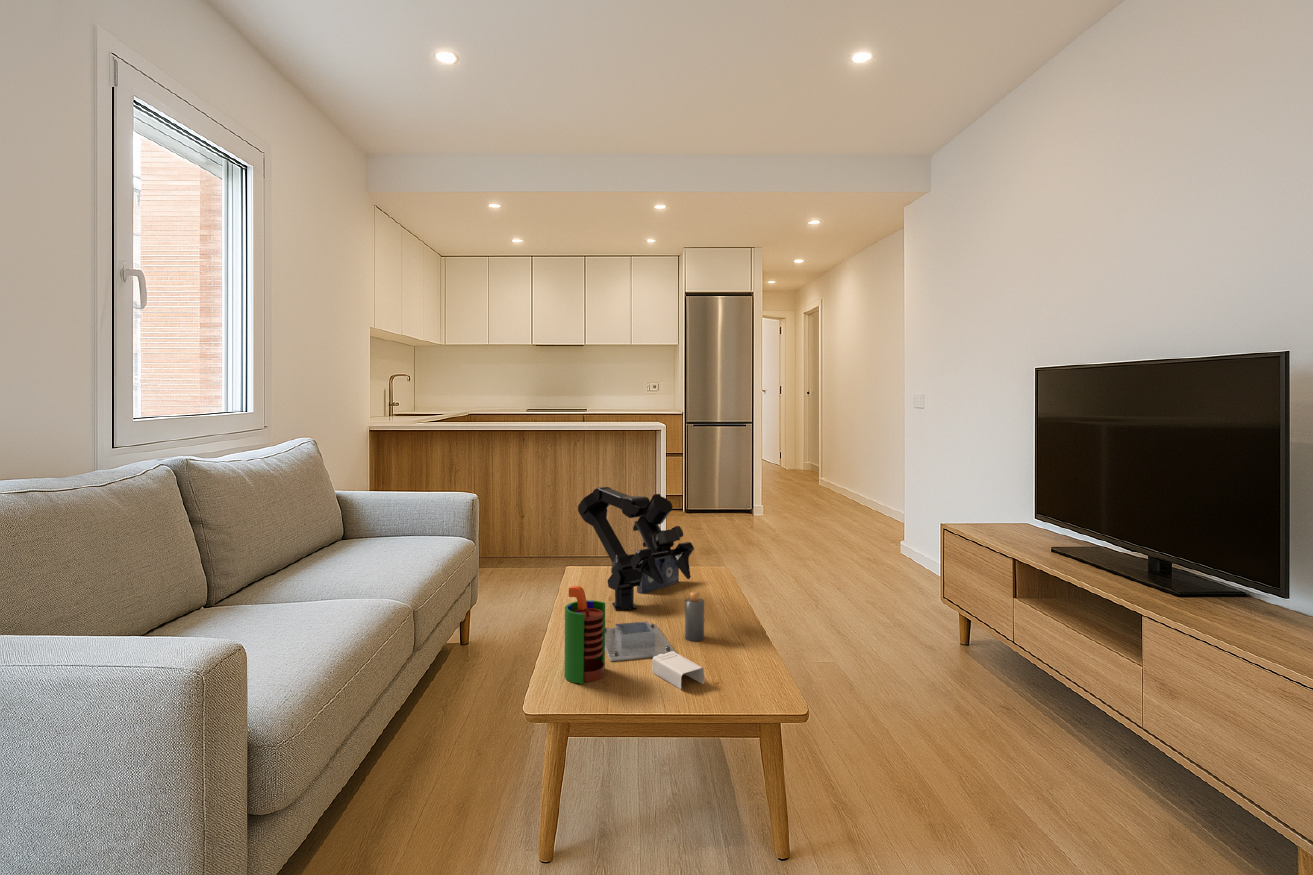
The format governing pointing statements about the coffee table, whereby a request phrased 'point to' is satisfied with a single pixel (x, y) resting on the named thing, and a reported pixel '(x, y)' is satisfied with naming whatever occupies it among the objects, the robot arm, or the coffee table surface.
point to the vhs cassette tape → (667, 572)
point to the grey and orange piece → (694, 618)
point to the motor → (584, 638)
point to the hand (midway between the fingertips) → (676, 581)
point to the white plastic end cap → (676, 668)
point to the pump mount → (635, 641)
